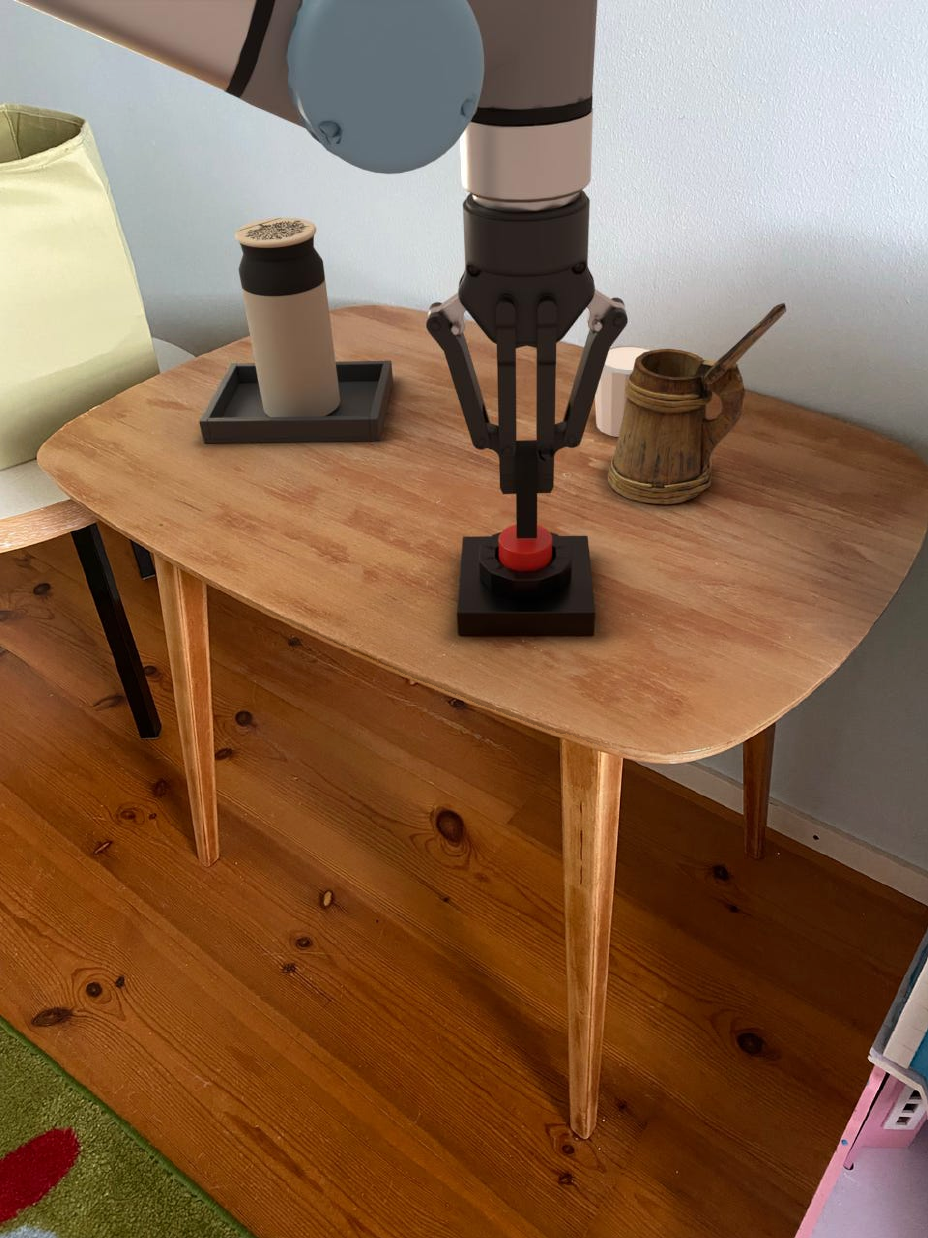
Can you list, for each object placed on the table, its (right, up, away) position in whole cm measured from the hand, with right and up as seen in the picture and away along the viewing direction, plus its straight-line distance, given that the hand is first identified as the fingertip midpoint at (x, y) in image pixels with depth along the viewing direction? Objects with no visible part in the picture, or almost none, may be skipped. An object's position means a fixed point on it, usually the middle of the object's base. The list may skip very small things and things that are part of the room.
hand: (526, 527), depth 73 cm
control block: (0, -5, +4) cm, 6 cm away
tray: (-21, +15, +30) cm, 40 cm away
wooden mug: (+15, +5, +16) cm, 22 cm away
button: (0, -2, +2) cm, 3 cm away
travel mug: (-21, +15, +30) cm, 40 cm away
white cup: (+11, +12, +25) cm, 30 cm away
